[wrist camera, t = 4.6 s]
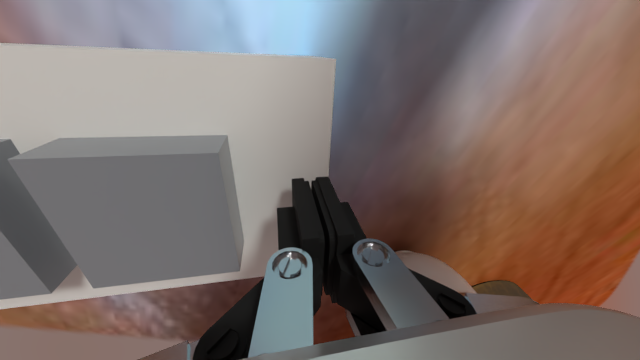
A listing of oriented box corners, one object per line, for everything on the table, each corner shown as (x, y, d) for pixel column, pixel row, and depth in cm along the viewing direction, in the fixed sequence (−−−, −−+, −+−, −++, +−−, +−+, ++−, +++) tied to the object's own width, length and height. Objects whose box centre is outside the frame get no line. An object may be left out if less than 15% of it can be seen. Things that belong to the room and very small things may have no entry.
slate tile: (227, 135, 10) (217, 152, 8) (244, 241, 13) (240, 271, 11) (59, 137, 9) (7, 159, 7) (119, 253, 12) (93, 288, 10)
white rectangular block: (312, 56, 14) (335, 59, 9) (309, 212, 20) (322, 269, 15) (-86, 39, 11) (-408, 28, 6) (48, 233, 17) (-52, 315, 12)
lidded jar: (345, 305, 28) (375, 409, 20) (355, 238, 23) (402, 342, 15) (425, 293, 30) (482, 383, 22) (452, 229, 25) (540, 315, 17)
